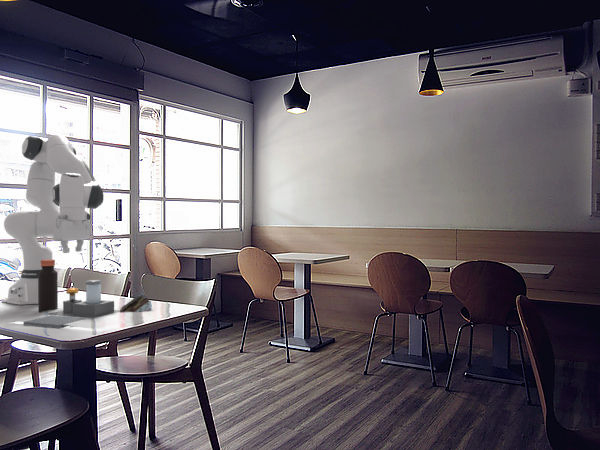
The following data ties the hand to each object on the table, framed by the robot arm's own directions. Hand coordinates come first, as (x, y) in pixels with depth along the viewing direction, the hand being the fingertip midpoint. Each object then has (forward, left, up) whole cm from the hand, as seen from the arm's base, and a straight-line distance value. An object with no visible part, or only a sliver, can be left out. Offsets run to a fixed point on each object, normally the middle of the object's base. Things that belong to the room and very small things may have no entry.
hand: (72, 252), depth 194 cm
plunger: (0, 0, -19) cm, 19 cm away
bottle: (-13, +1, -24) cm, 27 cm away
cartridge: (+10, 0, -22) cm, 25 cm away
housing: (+6, 0, -23) cm, 24 cm away
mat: (+7, -15, -23) cm, 29 cm away
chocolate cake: (+21, +11, -24) cm, 34 cm away
